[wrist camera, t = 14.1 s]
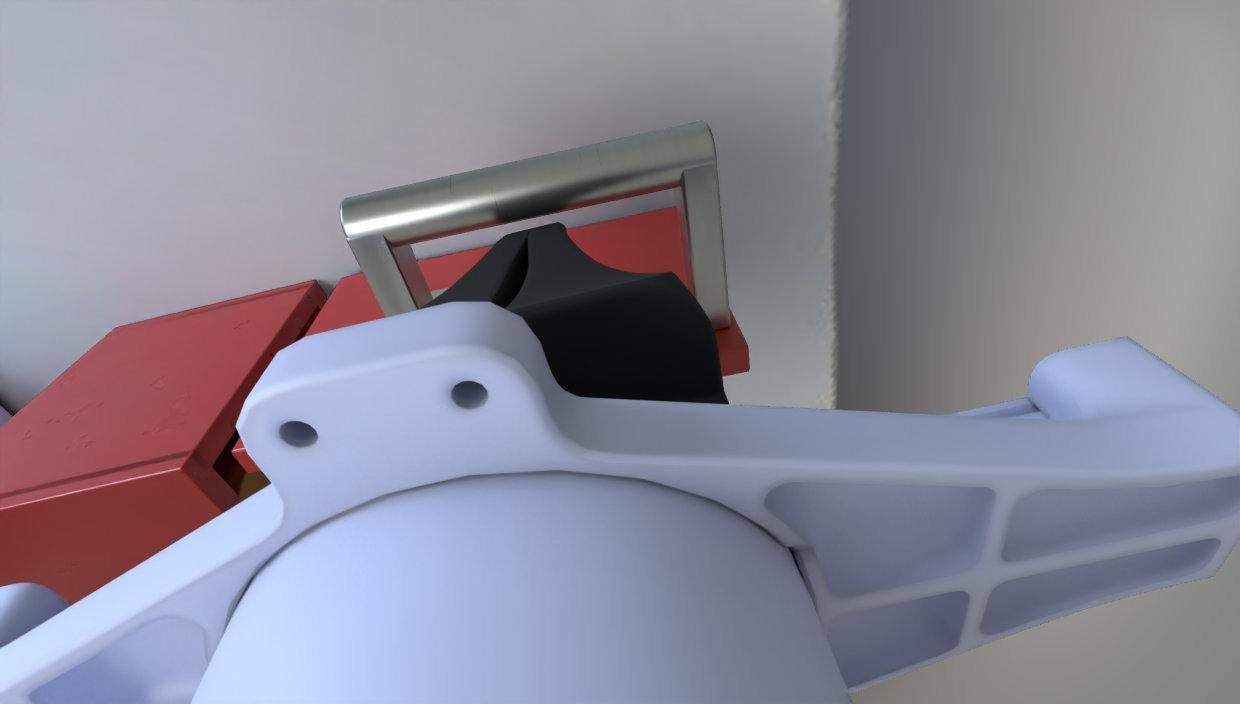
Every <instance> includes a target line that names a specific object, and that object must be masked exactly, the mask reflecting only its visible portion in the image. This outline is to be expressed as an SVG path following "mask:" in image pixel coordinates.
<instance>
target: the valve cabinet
mask: <svg viewBox="0 0 1240 704" xmlns="http://www.w3.org/2000/svg"><path fill="white" fill-rule="evenodd" d="M326 302H327V298H326V296H325V295H324V293H323V291H322V290H321V288H320V286H319V285H318V283H317V281H316V280H313V281H308V282H304V283H300V284H296V285H292V286H288V287H283V288H279V289H275V290H271V291H267V292H263V293H258V294H254V295H250V296H246V297H242V298H238V299H233V300H229V301H225V302H221V303H217V304H212V305H208V306H204V307H200V308H196V309H192V310H187V311H183V312H179V313H175V314H171V315H167V316H162V317H158V318H154V319H150V320H146V321H142V322H137V323H133V324H129V325H125V326H121V327H117V328H115V329H113V330H112V331H111V332H110V333H108V334H107V335H106V336H105V337H104V338H103V339H102V340H100V341H99V342H98V343H97V344H96V345H95V346H94V347H92V348H91V349H90V350H89V351H88V352H87V353H85V354H84V355H83V356H82V357H81V358H80V359H79V360H77V361H76V362H75V363H74V364H73V365H72V366H71V367H69V368H68V369H67V370H66V371H65V372H64V373H63V374H61V375H60V376H59V377H58V378H57V379H56V380H54V381H53V382H52V383H51V384H50V385H49V386H48V387H46V388H45V389H44V390H43V391H42V392H41V393H40V394H38V395H37V396H36V397H35V398H34V399H33V400H32V401H30V402H29V403H28V404H27V405H26V406H25V407H23V408H22V409H21V410H20V411H19V412H18V413H17V414H15V415H14V416H13V417H12V418H11V419H10V420H9V421H7V422H6V423H5V424H4V425H3V426H2V427H0V587H3V586H7V585H12V584H17V583H35V584H40V585H43V586H45V587H47V588H49V589H52V590H53V591H55V592H56V593H57V594H59V595H60V596H61V597H62V598H63V599H65V600H66V601H67V602H68V603H69V605H70V606H72V605H73V604H75V603H77V602H78V601H80V600H82V599H83V598H85V597H86V596H88V595H90V594H91V593H93V592H95V591H96V590H98V589H100V588H101V587H103V586H104V585H106V584H108V583H109V582H111V581H113V580H114V579H116V578H118V577H119V576H121V575H123V574H124V573H126V572H127V571H129V570H131V569H132V568H134V567H136V566H137V565H139V564H141V563H142V562H144V561H145V560H147V559H149V558H150V557H152V556H154V555H155V554H157V553H159V552H160V551H162V550H163V549H165V548H167V547H168V546H170V545H172V544H173V543H175V542H177V541H178V540H180V539H181V538H183V537H185V536H186V535H188V534H190V533H191V532H193V531H195V530H196V529H198V528H200V527H201V526H203V525H204V524H206V523H208V522H209V521H211V520H213V519H214V518H216V517H218V516H219V515H221V514H222V513H224V512H226V511H227V510H229V509H231V508H232V507H234V506H236V505H237V504H239V503H240V502H242V501H244V500H245V499H247V498H249V497H250V496H252V495H254V494H255V493H257V492H258V491H260V490H262V489H263V488H265V487H267V486H268V485H270V484H272V483H271V481H270V480H269V479H268V478H267V476H266V475H265V474H264V473H263V472H262V471H257V472H252V473H248V472H247V471H246V470H245V469H244V468H243V466H242V465H241V464H240V463H239V462H238V460H237V459H236V458H235V457H234V455H233V454H232V449H233V448H234V446H235V445H236V443H237V441H238V440H239V438H240V435H239V433H238V430H237V428H236V424H237V421H238V418H239V416H240V413H241V410H242V408H243V405H244V403H245V400H246V398H247V397H248V395H249V394H250V392H251V391H252V390H253V388H254V387H255V385H256V384H257V382H258V381H259V379H260V378H261V376H262V375H263V373H264V372H265V370H266V369H267V367H268V366H269V364H270V363H271V361H272V360H273V358H274V357H275V355H276V354H277V353H278V351H280V350H282V349H284V348H286V347H287V346H289V345H291V344H293V343H295V342H297V341H298V340H300V339H302V338H304V336H305V335H306V333H307V332H308V330H309V328H310V327H311V325H312V324H313V322H314V321H315V319H316V317H317V316H318V314H319V313H320V311H321V310H322V308H323V306H324V305H325V303H326Z"/></svg>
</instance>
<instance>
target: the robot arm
mask: <svg viewBox="0 0 1240 704" xmlns="http://www.w3.org/2000/svg"><path fill="white" fill-rule="evenodd" d="M12 417H13V416H12V415H10V414H9V413H8V412H7V411H6V410H5V409H4V408H3V407H1V406H0V427H2V426H3V425H4V424H5V423H6V422H7V421H9V420H10V419H11V418H12ZM236 428H237V430H238V433H239V435H240V437H241V440H242V442H243V444H244V447H245V449H246V451H247V454H248V455H249V456H250V457H251V459H252V460H253V461H254V462H255V463H256V465H257V466H258V467H259V468H260V469H261V471H262V472H263V473H264V474H265V475H266V476H267V478H268V479H269V480H270V481H271V483H272V484H270V485H268V486H267V487H265V488H263V489H262V490H260V491H258V492H257V493H255V494H254V495H252V496H250V497H249V498H247V499H245V500H244V501H242V502H240V503H239V504H237V505H236V506H234V507H232V508H231V509H229V510H227V511H226V512H224V513H222V514H221V515H219V516H218V517H216V518H214V519H213V520H211V521H209V522H208V523H206V524H204V525H203V526H201V527H200V528H198V529H196V530H195V531H193V532H191V533H190V534H188V535H186V536H185V537H183V538H181V539H180V540H178V541H177V542H175V543H173V544H172V545H170V546H168V547H167V548H165V549H163V550H162V551H160V552H159V553H157V554H155V555H154V556H152V557H150V558H149V559H147V560H145V561H144V562H142V563H141V564H139V565H137V566H136V567H134V568H132V569H131V570H129V571H127V572H126V573H124V574H123V575H121V576H119V577H118V578H116V579H114V580H113V581H111V582H109V583H108V584H106V585H104V586H103V587H101V588H100V589H98V590H96V591H95V592H93V593H91V594H90V595H88V596H86V597H85V598H83V599H82V600H80V601H78V602H77V603H75V604H73V605H72V606H70V605H69V603H68V602H67V601H66V600H65V599H63V598H62V597H61V596H60V595H59V594H57V593H56V592H55V591H53V590H52V589H49V588H47V587H45V586H43V585H40V584H35V583H17V584H12V585H7V586H3V587H0V704H853V702H852V700H851V697H850V695H849V694H851V693H854V692H856V691H859V690H862V689H864V688H867V687H870V686H873V685H875V684H878V683H881V682H884V681H886V680H889V679H892V678H895V677H897V676H900V675H903V674H906V673H908V672H911V671H914V670H917V669H919V668H922V667H925V666H928V665H930V664H933V663H936V662H939V661H941V660H944V659H947V658H949V657H952V656H954V655H958V654H960V653H963V652H966V651H969V650H971V649H974V648H977V647H980V646H982V645H985V644H988V643H991V642H993V641H996V640H999V639H1001V638H1004V637H1007V636H1009V635H1012V634H1015V633H1018V632H1021V631H1023V630H1026V629H1029V628H1031V627H1034V626H1037V625H1041V624H1043V623H1046V622H1049V621H1052V620H1055V619H1058V618H1061V617H1064V616H1067V615H1070V614H1073V613H1075V612H1079V611H1082V610H1085V609H1088V608H1092V607H1095V606H1099V605H1102V604H1106V603H1109V602H1113V601H1116V600H1120V599H1123V598H1127V597H1130V596H1134V595H1137V594H1141V593H1145V592H1149V591H1153V590H1157V589H1162V588H1166V587H1171V586H1175V585H1179V584H1183V583H1188V582H1192V581H1196V580H1201V579H1206V578H1210V577H1213V576H1214V575H1215V574H1216V573H1217V572H1218V570H1219V569H1220V567H1221V566H1222V564H1223V563H1224V561H1225V560H1226V558H1227V557H1228V555H1229V554H1230V552H1231V551H1232V549H1233V548H1234V547H1235V545H1236V544H1237V542H1238V541H1239V539H1240V412H1239V411H1237V410H1236V409H1234V408H1233V407H1231V406H1230V405H1229V404H1227V403H1226V402H1224V401H1223V400H1221V399H1220V398H1218V397H1217V396H1215V395H1214V394H1212V393H1210V392H1209V391H1208V390H1206V389H1205V388H1203V387H1202V386H1200V385H1199V384H1197V383H1196V382H1194V381H1193V380H1192V379H1190V378H1189V377H1187V376H1186V375H1184V374H1183V373H1181V372H1179V371H1178V370H1176V369H1175V368H1174V367H1172V366H1171V365H1169V364H1168V363H1166V362H1165V361H1163V360H1162V359H1160V358H1159V357H1157V356H1156V355H1155V354H1153V353H1151V352H1150V351H1149V350H1147V349H1146V348H1144V347H1143V346H1141V345H1140V344H1138V343H1137V342H1135V341H1134V340H1132V339H1131V338H1129V337H1120V338H1115V339H1111V340H1106V341H1102V342H1097V343H1093V344H1088V345H1084V346H1080V347H1075V348H1070V349H1066V350H1061V351H1058V352H1055V353H1052V354H1050V355H1048V356H1046V357H1045V358H1043V359H1042V360H1041V361H1040V362H1039V363H1037V365H1036V366H1035V368H1034V370H1033V371H1032V374H1031V376H1030V380H1029V383H1028V394H1027V397H1025V398H1021V399H1017V400H1012V401H1007V402H1003V403H998V404H994V405H989V406H985V407H980V408H976V409H971V410H967V411H963V412H957V413H953V414H948V415H932V414H912V413H893V412H872V411H852V410H832V409H811V408H791V407H770V406H750V405H729V402H728V400H727V397H726V394H725V392H724V387H723V379H722V372H721V365H720V358H719V350H718V343H717V339H716V335H715V332H714V329H713V327H712V324H711V322H710V320H709V318H708V316H707V315H706V313H705V311H704V310H703V308H702V307H701V305H700V304H699V302H698V301H697V300H696V298H695V297H694V296H693V294H692V293H691V292H690V290H689V289H688V288H687V287H686V286H685V284H684V283H683V282H682V281H681V280H680V279H679V278H678V277H677V275H676V274H674V273H673V272H659V273H635V272H627V271H622V270H618V269H614V268H611V267H608V266H605V265H603V264H601V263H599V262H597V261H595V260H594V259H592V258H591V257H590V256H588V255H587V254H586V253H584V252H583V251H582V250H581V249H580V248H579V247H578V246H577V245H576V244H575V243H574V242H573V241H572V240H571V239H570V237H569V236H568V234H567V231H566V228H565V226H564V225H563V224H561V223H560V222H557V223H553V224H548V225H544V226H540V227H536V228H532V229H528V230H524V231H519V232H515V233H511V234H507V235H505V236H504V237H503V238H501V239H500V240H499V241H498V242H497V243H496V244H495V245H494V246H493V247H492V248H491V249H490V250H489V251H488V252H487V253H486V254H485V255H484V256H483V257H482V258H481V259H480V260H479V261H478V262H477V263H476V264H475V265H474V266H473V267H472V268H471V269H470V270H469V271H468V272H466V273H465V274H464V275H463V276H462V277H461V278H460V279H459V280H457V281H456V282H455V283H454V284H453V285H452V286H451V287H449V288H448V289H447V290H446V291H444V292H443V293H442V294H440V295H439V296H437V297H436V298H435V299H433V300H432V301H430V302H429V303H427V304H426V305H424V306H423V307H421V308H420V309H418V310H415V311H411V312H407V313H403V314H399V315H394V316H390V317H386V318H382V319H377V320H373V321H369V322H365V323H361V324H356V325H352V326H348V327H344V328H339V329H335V330H331V331H327V332H322V333H318V334H314V335H310V336H306V337H304V338H302V339H300V340H298V341H297V342H295V343H293V344H291V345H289V346H287V347H286V348H284V349H282V350H280V351H278V353H277V354H276V355H275V357H274V358H273V360H272V361H271V363H270V364H269V366H268V367H267V369H266V370H265V372H264V373H263V375H262V376H261V378H260V379H259V381H258V382H257V384H256V385H255V387H254V388H253V390H252V391H251V392H250V394H249V395H248V397H247V398H246V400H245V403H244V405H243V408H242V410H241V413H240V416H239V418H238V421H237V424H236Z"/></svg>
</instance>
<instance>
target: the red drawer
mask: <svg viewBox="0 0 1240 704" xmlns="http://www.w3.org/2000/svg"><path fill="white" fill-rule="evenodd" d="M671 188H675V195H676V203H677V206H676V207H671V208H667V209H662V210H657V211H652V212H648V213H643V214H638V215H634V216H629V217H624V218H620V219H615V220H610V221H605V222H601V223H596V224H591V225H587V226H582V227H577V228H573V229H568V230H566V231H567V234H568V236H569V237H570V239H571V240H572V241H573V242H574V243H575V244H576V245H577V246H578V247H579V248H580V249H581V250H582V251H583V252H584V253H586V254H587V255H588V256H590V257H591V258H592V259H594V260H595V261H597V262H599V263H601V264H603V265H605V266H608V267H611V268H614V269H618V270H622V271H627V272H635V273H659V272H673V273H674V274H676V275H677V277H678V278H679V279H680V280H681V281H682V282H683V283H684V284H685V286H686V287H687V288H688V289H689V290H690V292H691V293H692V294H693V296H694V297H695V298H696V300H697V301H698V302H699V304H700V305H701V307H702V308H703V310H704V311H705V313H706V315H707V316H708V318H709V320H710V322H711V324H712V327H713V329H714V332H715V335H716V339H717V343H718V350H719V358H720V365H721V372H722V377H723V376H728V375H733V374H738V373H743V372H747V371H749V369H750V364H749V349H748V345H747V343H746V340H745V338H744V336H743V334H742V332H741V330H740V328H739V326H738V324H737V322H736V320H735V318H734V316H733V314H732V312H731V310H730V308H729V299H728V287H727V276H726V264H725V252H724V241H723V229H722V217H721V206H720V194H719V182H718V171H717V159H716V150H715V143H714V139H713V135H712V131H711V129H710V127H709V125H708V123H707V122H705V121H699V122H695V123H690V124H685V125H681V126H676V127H671V128H667V129H662V130H658V131H653V132H648V133H644V134H639V135H635V136H630V137H625V138H621V139H616V140H612V141H607V142H602V143H598V144H593V145H588V146H584V147H579V148H575V149H570V150H565V151H561V152H556V153H552V154H547V155H542V156H538V157H533V158H529V159H524V160H519V161H515V162H510V163H505V164H501V165H496V166H492V167H487V168H482V169H478V170H473V171H469V172H464V173H459V174H455V175H450V176H446V177H441V178H436V179H432V180H427V181H422V182H418V183H413V184H409V185H404V186H399V187H395V188H390V189H386V190H381V191H376V192H372V193H367V194H363V195H358V196H353V197H349V198H346V199H344V200H343V201H342V202H341V204H340V220H341V224H342V228H343V231H344V233H345V236H346V238H347V242H348V244H349V246H350V248H351V250H352V252H353V254H354V256H355V258H356V260H357V262H358V264H359V266H360V268H361V270H362V272H363V273H361V274H357V275H352V276H347V277H343V278H341V280H340V281H339V283H338V285H337V286H336V288H335V289H334V291H333V292H332V294H331V295H330V297H329V299H328V300H327V302H326V303H325V305H324V306H323V308H322V310H321V311H320V313H319V314H318V316H317V317H316V319H315V321H314V322H313V324H312V325H311V327H310V328H309V330H308V332H307V333H306V335H305V336H304V337H306V336H310V335H314V334H318V333H322V332H327V331H331V330H335V329H339V328H344V327H348V326H352V325H356V324H361V323H365V322H369V321H373V320H377V319H382V318H386V317H390V316H394V315H399V314H403V313H407V312H411V311H415V310H418V309H420V308H421V307H423V306H424V305H426V304H427V303H429V302H430V301H432V300H433V299H435V298H436V297H437V296H439V295H440V294H442V293H443V292H444V291H446V290H447V289H448V288H449V287H451V286H452V285H453V284H454V283H455V282H456V281H457V280H459V279H460V278H461V277H462V276H463V275H464V274H465V273H466V272H468V271H469V270H470V269H471V268H472V267H473V266H474V265H475V264H476V263H477V262H478V261H479V260H480V259H481V258H482V257H483V256H484V255H485V254H486V253H487V252H488V251H489V250H490V249H491V248H492V247H493V246H494V245H493V246H488V247H483V248H479V249H474V250H469V251H465V252H460V253H455V254H451V255H446V256H441V257H436V258H432V259H427V260H422V261H418V262H417V260H416V258H415V255H414V253H413V251H412V248H411V246H410V244H414V243H419V242H423V241H428V240H433V239H437V238H442V237H447V236H451V235H456V234H461V233H465V232H470V231H475V230H479V229H484V228H489V227H493V226H498V225H503V224H508V223H512V222H517V221H522V220H526V219H531V218H536V217H540V216H545V215H550V214H554V213H559V212H564V211H568V210H573V209H578V208H582V207H587V206H592V205H596V204H601V203H606V202H610V201H615V200H620V199H624V198H629V197H634V196H638V195H643V194H648V193H652V192H657V191H662V190H666V189H671ZM232 454H233V455H234V457H235V458H236V459H237V460H238V462H239V463H240V464H241V465H242V466H243V468H244V469H245V470H246V471H247V472H248V473H252V472H257V471H261V469H260V468H259V467H258V466H257V465H256V463H255V462H254V461H253V460H252V459H251V457H250V456H249V455H248V454H247V451H246V449H245V447H244V444H243V442H242V440H241V437H240V438H239V440H238V441H237V443H236V445H235V446H234V448H233V449H232Z"/></svg>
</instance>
